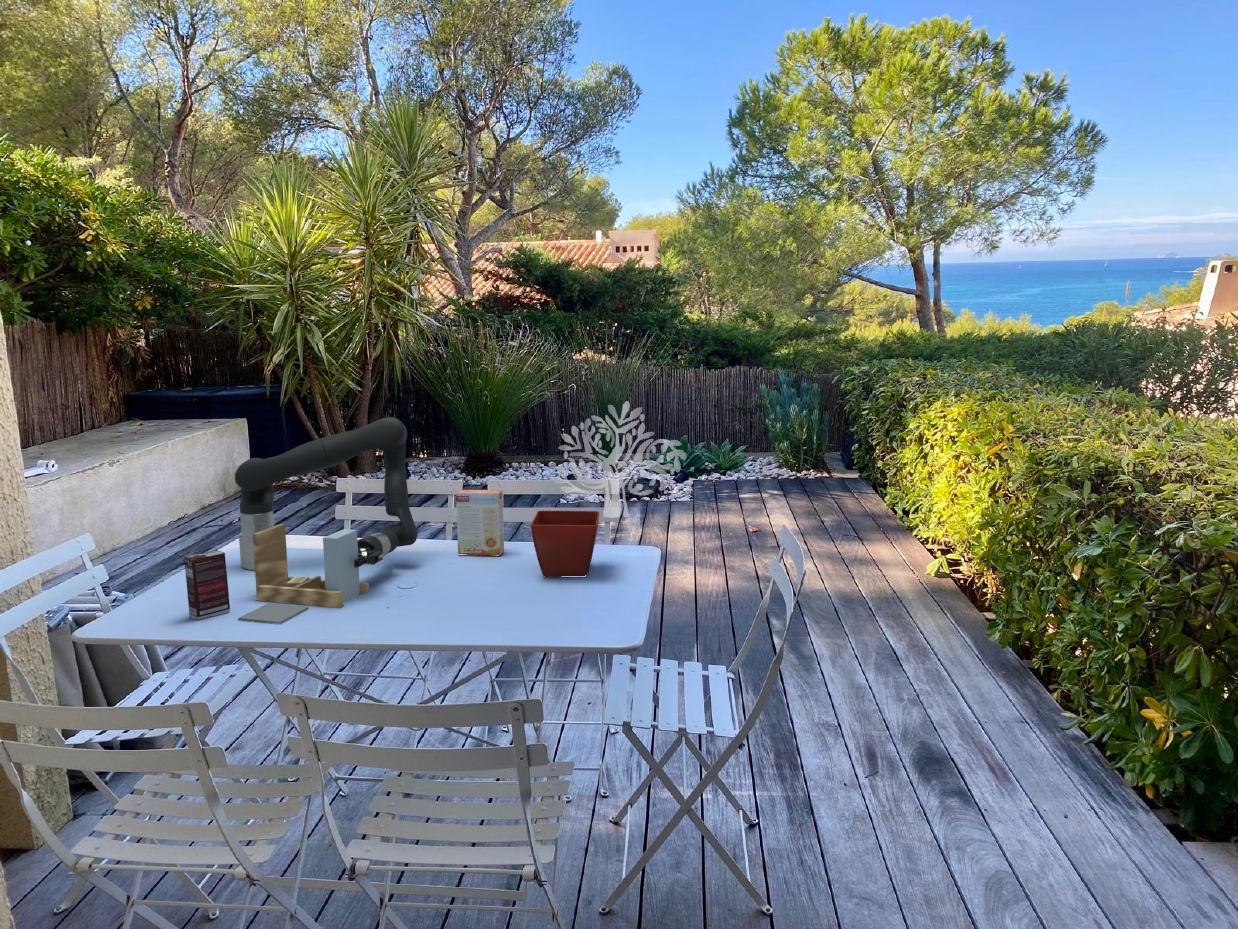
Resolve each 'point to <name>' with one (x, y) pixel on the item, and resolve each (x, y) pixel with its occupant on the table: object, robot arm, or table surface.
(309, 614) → the table surface
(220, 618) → the table surface
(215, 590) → the supplement box
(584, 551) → the plant pot
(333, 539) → the upright blue-grey block
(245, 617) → the mat
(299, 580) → the offcut slab upper
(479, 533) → the cracker box
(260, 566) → the frame
